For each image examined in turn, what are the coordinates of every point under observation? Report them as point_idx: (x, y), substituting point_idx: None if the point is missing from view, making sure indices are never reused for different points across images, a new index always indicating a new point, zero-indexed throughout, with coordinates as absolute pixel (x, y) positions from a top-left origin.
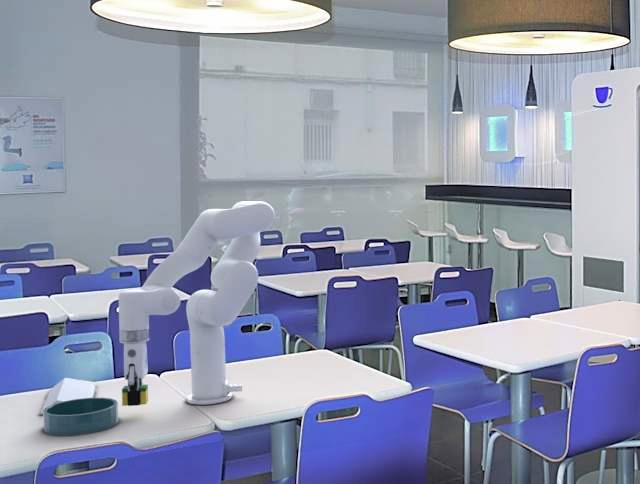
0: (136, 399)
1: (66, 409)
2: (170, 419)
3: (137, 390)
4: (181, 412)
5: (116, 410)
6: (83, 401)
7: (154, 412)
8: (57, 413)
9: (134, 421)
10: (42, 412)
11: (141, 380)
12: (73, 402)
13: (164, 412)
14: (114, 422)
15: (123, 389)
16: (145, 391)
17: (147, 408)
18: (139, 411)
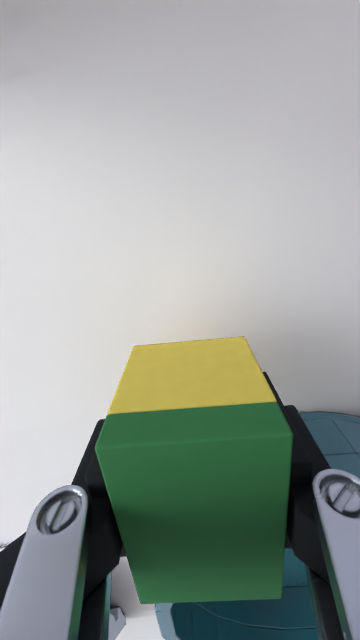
0: (300, 418)
1: (208, 612)
2: (355, 119)
3: (350, 484)
4: (177, 65)
5: (348, 464)
6: (175, 614)
7: (145, 279)
8: (235, 615)
9: (310, 343)
10: (123, 625)
11: (78, 565)
12: (191, 635)
13: (155, 213)
14: (349, 422)
15: (280, 587)
16: (274, 403)
17: (53, 338)
18: (112, 363)
